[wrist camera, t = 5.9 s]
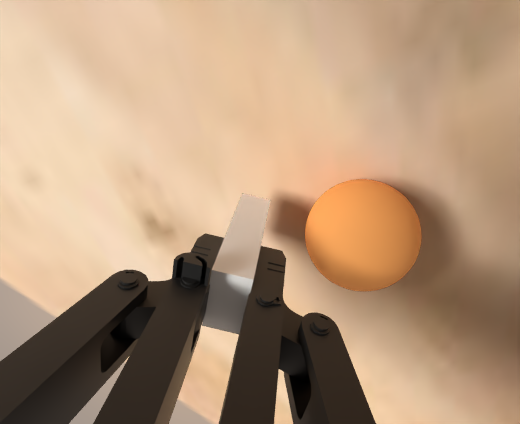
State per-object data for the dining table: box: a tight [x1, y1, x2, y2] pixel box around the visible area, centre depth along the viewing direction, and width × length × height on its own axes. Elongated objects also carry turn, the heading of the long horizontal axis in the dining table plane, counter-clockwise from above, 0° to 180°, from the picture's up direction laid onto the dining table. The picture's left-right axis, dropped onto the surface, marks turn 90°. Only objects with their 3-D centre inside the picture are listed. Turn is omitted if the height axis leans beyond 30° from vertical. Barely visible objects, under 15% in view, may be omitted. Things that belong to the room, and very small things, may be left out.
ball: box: [305, 179, 422, 291], centre depth 18 cm, size 6×6×6 cm
